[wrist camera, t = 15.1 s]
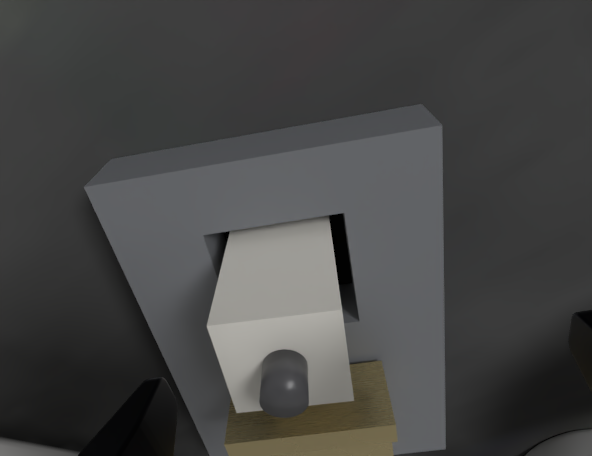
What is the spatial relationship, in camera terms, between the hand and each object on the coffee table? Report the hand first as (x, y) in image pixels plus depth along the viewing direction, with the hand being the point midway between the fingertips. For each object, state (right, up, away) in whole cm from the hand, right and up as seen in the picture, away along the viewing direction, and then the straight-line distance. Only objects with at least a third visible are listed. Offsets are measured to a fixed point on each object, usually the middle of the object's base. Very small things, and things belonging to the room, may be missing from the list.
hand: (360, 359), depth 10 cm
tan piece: (0, -7, +14) cm, 16 cm away
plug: (-2, +2, +13) cm, 13 cm away
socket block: (-1, -1, +15) cm, 15 cm away
